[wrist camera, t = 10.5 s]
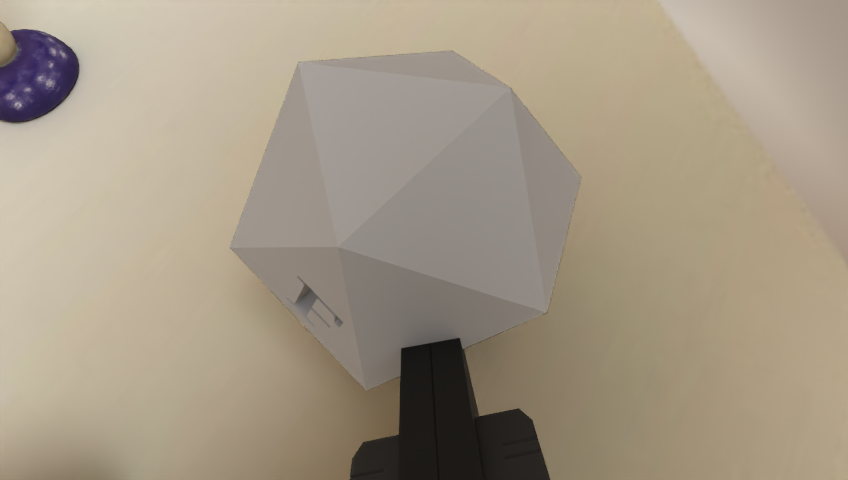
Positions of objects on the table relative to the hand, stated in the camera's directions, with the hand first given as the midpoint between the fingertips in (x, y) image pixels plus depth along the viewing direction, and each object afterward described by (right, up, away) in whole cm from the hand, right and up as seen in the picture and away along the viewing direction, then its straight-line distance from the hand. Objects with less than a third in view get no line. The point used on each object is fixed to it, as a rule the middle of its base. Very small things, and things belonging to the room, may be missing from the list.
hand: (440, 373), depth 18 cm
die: (0, +2, +5) cm, 5 cm away
